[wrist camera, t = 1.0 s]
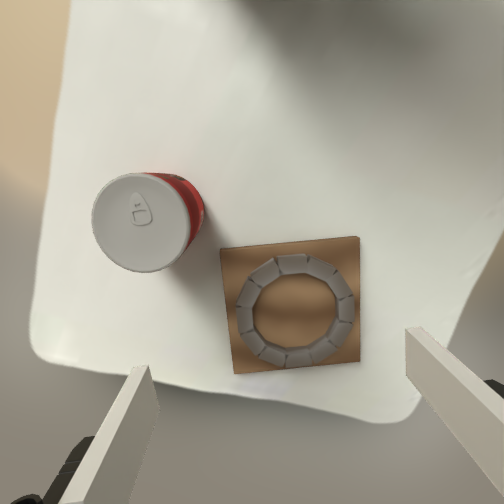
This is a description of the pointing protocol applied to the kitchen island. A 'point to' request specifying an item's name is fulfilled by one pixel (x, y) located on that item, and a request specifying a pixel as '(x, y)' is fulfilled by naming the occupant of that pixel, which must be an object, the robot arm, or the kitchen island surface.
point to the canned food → (146, 220)
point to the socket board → (293, 303)
